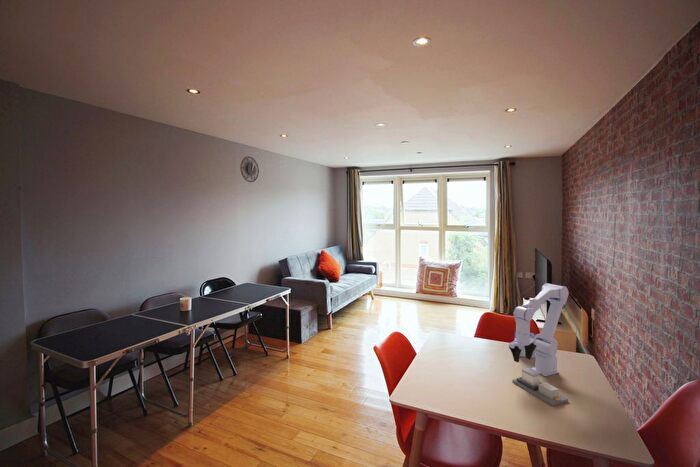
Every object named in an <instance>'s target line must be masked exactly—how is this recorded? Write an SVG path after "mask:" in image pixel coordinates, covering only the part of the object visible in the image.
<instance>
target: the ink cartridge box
mask: <svg viewBox="0 0 700 467" xmlns="http://www.w3.org/2000/svg"><path fill="white" fill-rule="evenodd" d="M535 336H536V334H535V333H534V332H530V338H533V339H534V338H535ZM515 338H516V331H514V339H515ZM518 348H519V349H521V350H522V351H521V353H520V357H525V358H526V356H525V347H524V346H518ZM535 356H536V353H535V352H534V351H533V354H532V356H531V359H532V358H533V359H535Z"/></svg>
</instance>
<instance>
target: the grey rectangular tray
mask: <svg viewBox="0 0 700 467" xmlns="http://www.w3.org/2000/svg"><path fill="white" fill-rule="evenodd" d="M512 383H513V384H515V385H516V386H518V387H520V388H522V389H523V390H525V391H527V392H528V393H530V394H531V395H533V396H535V397H536V398H538V399H539V400H542V401H543V402H545V403H546V404H548V405H550V406H552V407H555V406H558V405H561V404H565V403H568V402H569V398H568V397H566V396H564V395H563V394H560V393H559V388H557V387H555V386H554V385H551V384H550V383H548V382H546V381H543V382H542V381H540V384H539V386H535V387H533V386H532V385H530V384H528V383H526V382H525V381H523V380H522V376H519V377H517V378H513V379H512Z"/></svg>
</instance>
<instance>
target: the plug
mask: <svg viewBox="0 0 700 467" xmlns="http://www.w3.org/2000/svg"><path fill="white" fill-rule="evenodd" d="M521 377H522V380H523V381H525V382H526V383H528V384H530V385H532V386H533V387H535V386H539V384H540V382H541V374H540V373H538V372H536V371H534V370H532V369H531V368H530V367H525V368H521Z"/></svg>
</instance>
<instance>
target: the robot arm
mask: <svg viewBox="0 0 700 467" xmlns="http://www.w3.org/2000/svg"><path fill="white" fill-rule="evenodd" d="M569 294H570V292H569V290H568V288H567V286H564V285H563V286H562V285H558V284H554V283H553V284H552V283H548V282H546V283H544V284H543V285H542V286H541V291H540V292H539V293H538V294H537V295H536V296H535V297H533V298H531V297H530V298H529V299H527V301H526V302H524V303H523V304H522V305H521V306H520V305H519V306H516V307H515V308H514V310H513V312H512V313H513V314H512V315H513V317H514V321H515V332H516V338H515V337H514V340H513V341H511V342H509V345H508V349H510V352H511V354H512V358H513V361H514V362H516V363H519V362H520V357H521V356H520V353H521V351H522V350H521V349H519V348H518V346H524V347H525V356H526V357H525V359H527V360H531V359H532V357H531V356H532V354H533V351H534V352H535V358H534V359H535V361H534V363H535V364H534V365H535V366H533V367H531V368H530V369H532V370H534V371H536V372H538V373H540V375H542V376H544V377H548V376H552V375H556V374H559V371H558V359H557V356H556V354H557V352H558V345H559V343H558V341H557V340H556V339H555V337H554V335H555V333H556V330H557V326H558V323H559V319H560V317H561V313H562V310H563V307H564V305H566V304H567V300H568V297H569ZM545 301H549V303H550V305H549V308H548V311H547V314H546V317H545V321H544V324H543V326H542V330H541V332H540V333H537V334H535V338H534V339H533V338H530V333H531V321H532V320H533V318H534V316H535V313H536V312H537V311H538V310H540V309H541V308H542V304H543V303H544V302H545Z"/></svg>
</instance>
